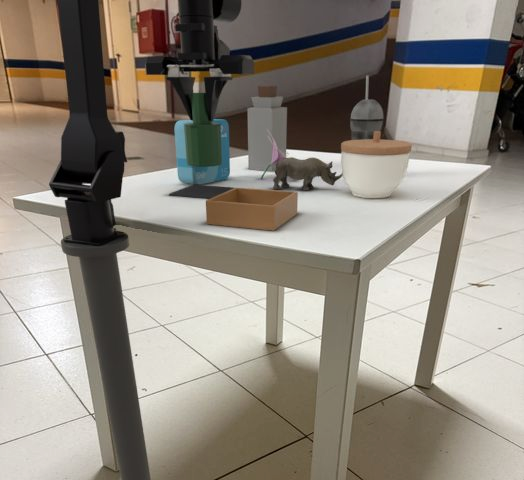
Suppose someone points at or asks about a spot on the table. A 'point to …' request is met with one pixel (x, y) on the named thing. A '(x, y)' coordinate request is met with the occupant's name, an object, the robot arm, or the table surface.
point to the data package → (201, 173)
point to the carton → (252, 208)
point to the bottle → (202, 136)
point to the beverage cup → (366, 118)
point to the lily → (275, 155)
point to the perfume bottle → (259, 119)
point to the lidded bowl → (374, 165)
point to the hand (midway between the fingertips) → (202, 120)
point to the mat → (201, 191)
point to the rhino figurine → (303, 172)
